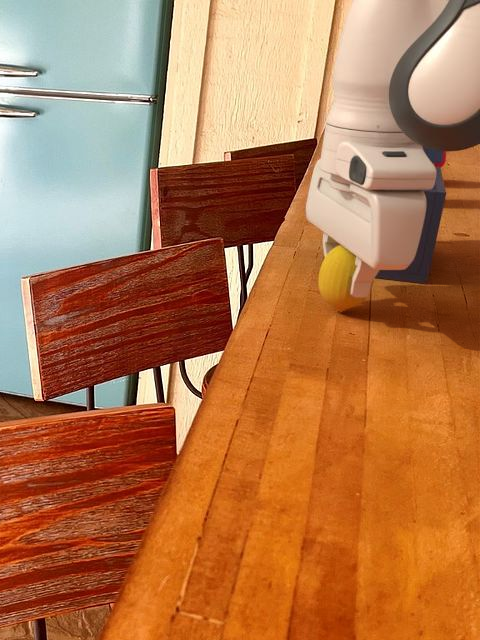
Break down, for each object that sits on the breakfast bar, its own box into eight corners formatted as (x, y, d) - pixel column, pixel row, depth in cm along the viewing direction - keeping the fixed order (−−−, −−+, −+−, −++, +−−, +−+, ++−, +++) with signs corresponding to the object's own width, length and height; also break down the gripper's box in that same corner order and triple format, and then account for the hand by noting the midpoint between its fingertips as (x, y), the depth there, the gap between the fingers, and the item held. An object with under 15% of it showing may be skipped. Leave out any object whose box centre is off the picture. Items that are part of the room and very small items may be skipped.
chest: (426, 284, 105) (446, 192, 101) (321, 271, 109) (335, 183, 105) (423, 249, 119) (440, 166, 114) (329, 239, 123) (342, 159, 118)
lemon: (371, 323, 93) (385, 249, 90) (317, 319, 94) (329, 246, 91) (361, 305, 98) (374, 235, 95) (309, 302, 99) (320, 232, 96)
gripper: (301, 137, 99) (284, 256, 104) (378, 175, 80) (352, 318, 86) (357, 137, 99) (337, 256, 104) (446, 175, 80) (416, 318, 86)
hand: (344, 284), depth 95 cm, fingers closed on lemon, 5 cm apart
